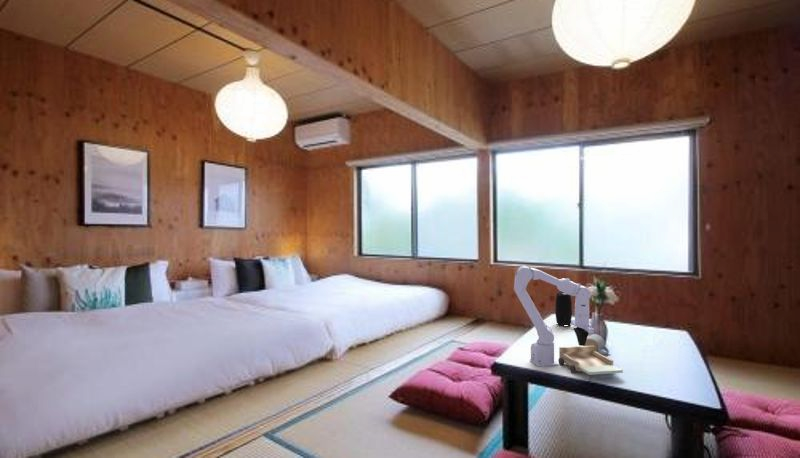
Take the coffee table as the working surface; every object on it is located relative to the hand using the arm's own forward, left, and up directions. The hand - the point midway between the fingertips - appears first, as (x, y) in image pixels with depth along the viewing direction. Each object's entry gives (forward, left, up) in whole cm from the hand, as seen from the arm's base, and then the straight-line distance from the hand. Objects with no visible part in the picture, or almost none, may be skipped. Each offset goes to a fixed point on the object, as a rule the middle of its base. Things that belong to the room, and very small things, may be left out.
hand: (581, 345), depth 176 cm
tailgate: (0, -10, -6) cm, 12 cm away
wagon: (0, -3, -9) cm, 9 cm away
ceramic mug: (+17, +16, -9) cm, 25 cm away
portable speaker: (+28, +65, -9) cm, 72 cm away
